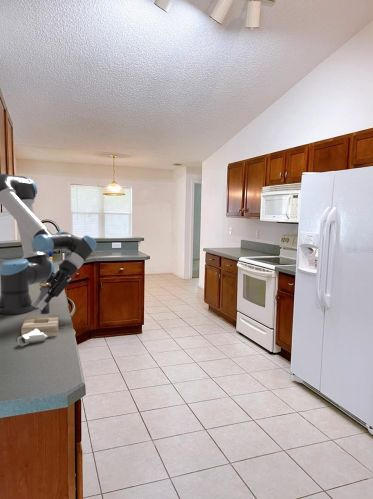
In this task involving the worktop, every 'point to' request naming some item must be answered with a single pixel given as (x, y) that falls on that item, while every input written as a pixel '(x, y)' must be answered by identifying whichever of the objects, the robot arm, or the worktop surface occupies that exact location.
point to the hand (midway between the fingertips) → (36, 307)
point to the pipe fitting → (31, 337)
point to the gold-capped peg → (44, 290)
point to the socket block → (41, 324)
